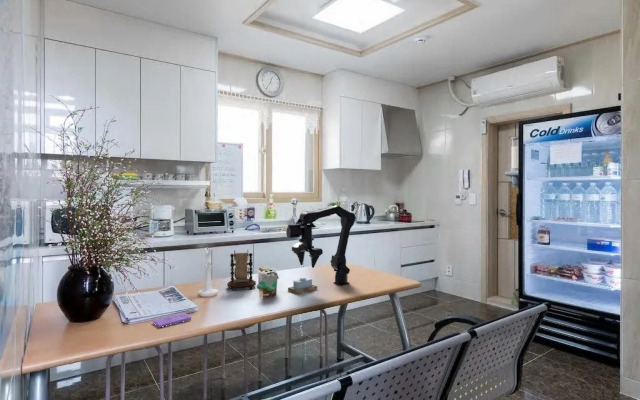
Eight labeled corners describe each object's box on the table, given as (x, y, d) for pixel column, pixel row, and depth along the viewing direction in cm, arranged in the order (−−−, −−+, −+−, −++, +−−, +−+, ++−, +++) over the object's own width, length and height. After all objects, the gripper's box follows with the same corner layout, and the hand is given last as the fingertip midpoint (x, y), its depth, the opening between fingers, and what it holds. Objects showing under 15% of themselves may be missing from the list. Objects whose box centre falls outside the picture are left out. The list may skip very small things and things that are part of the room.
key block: (293, 290, 189) (293, 279, 188) (307, 287, 195) (307, 276, 194) (298, 292, 186) (298, 280, 185) (312, 288, 192) (312, 277, 191)
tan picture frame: (307, 286, 197) (307, 283, 197) (317, 289, 192) (316, 286, 191) (288, 291, 189) (288, 287, 189) (297, 294, 183) (297, 290, 183)
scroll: (226, 292, 186) (226, 252, 185) (227, 284, 201) (227, 247, 200) (256, 290, 189) (256, 251, 188) (255, 283, 204) (255, 247, 203)
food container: (274, 298, 176) (274, 278, 175) (261, 298, 177) (261, 277, 177) (281, 291, 188) (281, 271, 188) (270, 290, 189) (270, 271, 189)
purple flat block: (191, 321, 148) (191, 316, 148) (159, 329, 140) (158, 324, 140) (184, 316, 153) (184, 312, 153) (152, 324, 145) (152, 319, 145)
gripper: (283, 236, 194) (284, 266, 195) (306, 240, 180) (306, 272, 181) (299, 234, 201) (300, 262, 202) (323, 237, 188) (323, 268, 188)
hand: (307, 266), depth 193 cm, fingers open, 9 cm apart
